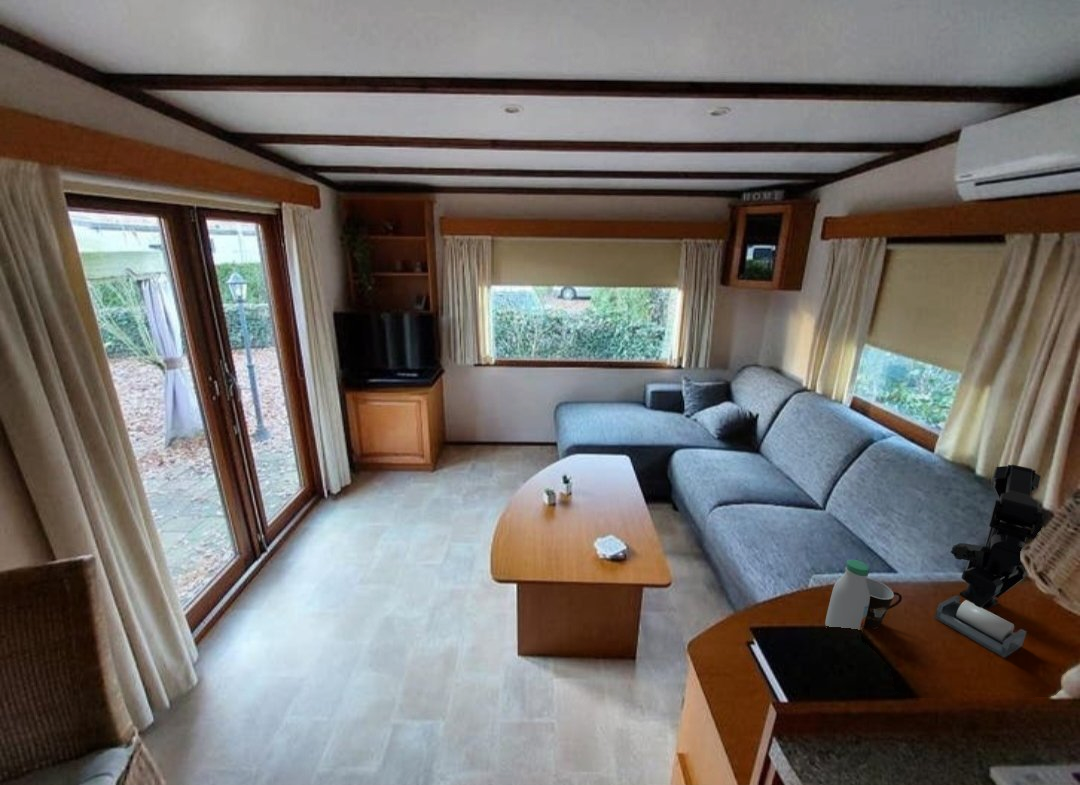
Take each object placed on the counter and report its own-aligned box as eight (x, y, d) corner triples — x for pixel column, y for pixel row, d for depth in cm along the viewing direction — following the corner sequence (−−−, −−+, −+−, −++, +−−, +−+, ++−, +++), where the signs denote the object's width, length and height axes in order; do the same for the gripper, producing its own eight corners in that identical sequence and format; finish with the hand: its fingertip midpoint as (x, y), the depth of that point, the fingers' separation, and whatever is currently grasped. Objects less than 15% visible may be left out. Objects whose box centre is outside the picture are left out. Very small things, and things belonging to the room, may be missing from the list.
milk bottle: (849, 647, 107) (867, 578, 102) (818, 625, 113) (833, 559, 108) (866, 636, 110) (884, 569, 105) (835, 616, 117) (850, 551, 112)
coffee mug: (848, 624, 114) (856, 592, 111) (843, 603, 121) (850, 573, 119) (903, 641, 109) (913, 608, 106) (894, 618, 116) (903, 587, 114)
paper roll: (953, 618, 114) (961, 599, 114) (961, 617, 117) (970, 599, 116) (1000, 644, 106) (1009, 624, 106) (1007, 643, 109) (1017, 624, 108)
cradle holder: (951, 608, 121) (956, 595, 119) (1021, 646, 108) (1026, 631, 107) (934, 618, 117) (938, 604, 116) (1004, 658, 105) (1009, 643, 103)
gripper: (980, 523, 117) (964, 573, 121) (944, 538, 110) (928, 590, 113) (1038, 546, 107) (1019, 599, 111) (1003, 563, 100) (984, 620, 104)
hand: (986, 601), depth 110 cm, fingers open, 9 cm apart
